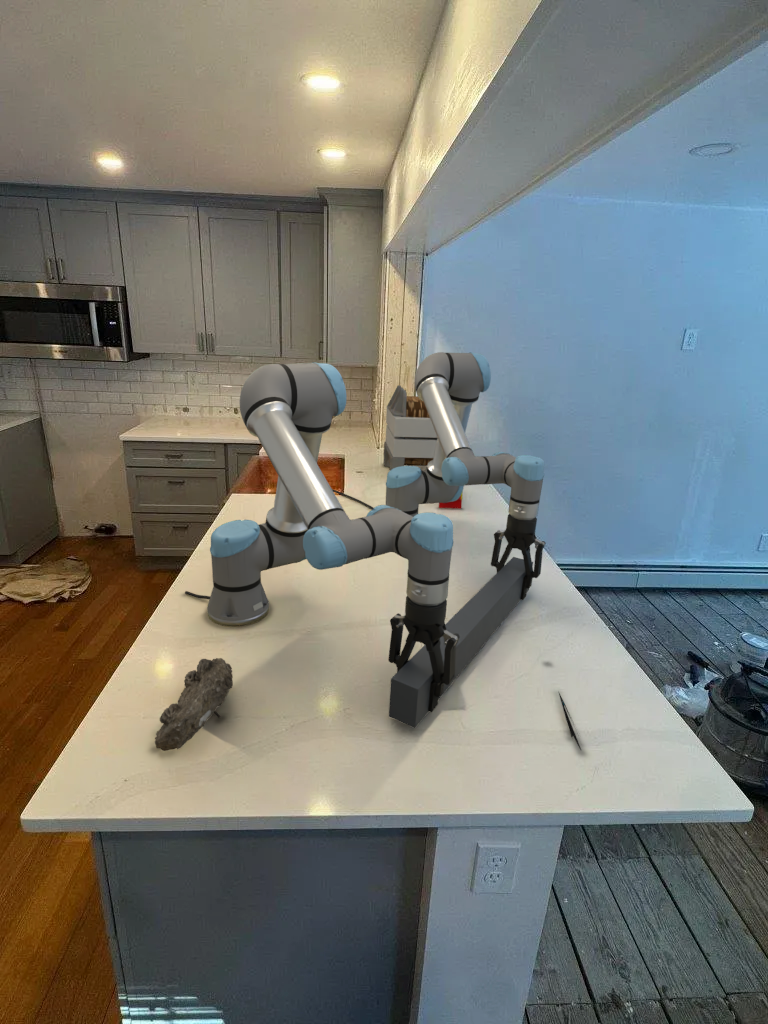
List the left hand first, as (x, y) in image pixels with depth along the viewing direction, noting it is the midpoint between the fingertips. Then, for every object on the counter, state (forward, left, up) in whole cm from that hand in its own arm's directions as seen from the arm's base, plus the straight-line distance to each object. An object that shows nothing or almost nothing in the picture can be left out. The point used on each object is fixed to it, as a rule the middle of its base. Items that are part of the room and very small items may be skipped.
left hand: (418, 701), depth 111 cm
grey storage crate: (-124, +120, -2) cm, 173 cm away
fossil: (-24, -34, -2) cm, 42 cm away
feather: (+17, +25, -2) cm, 30 cm away
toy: (-90, +103, -2) cm, 137 cm away
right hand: (-17, +52, 0) cm, 55 cm away
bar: (-8, +26, -1) cm, 27 cm away
